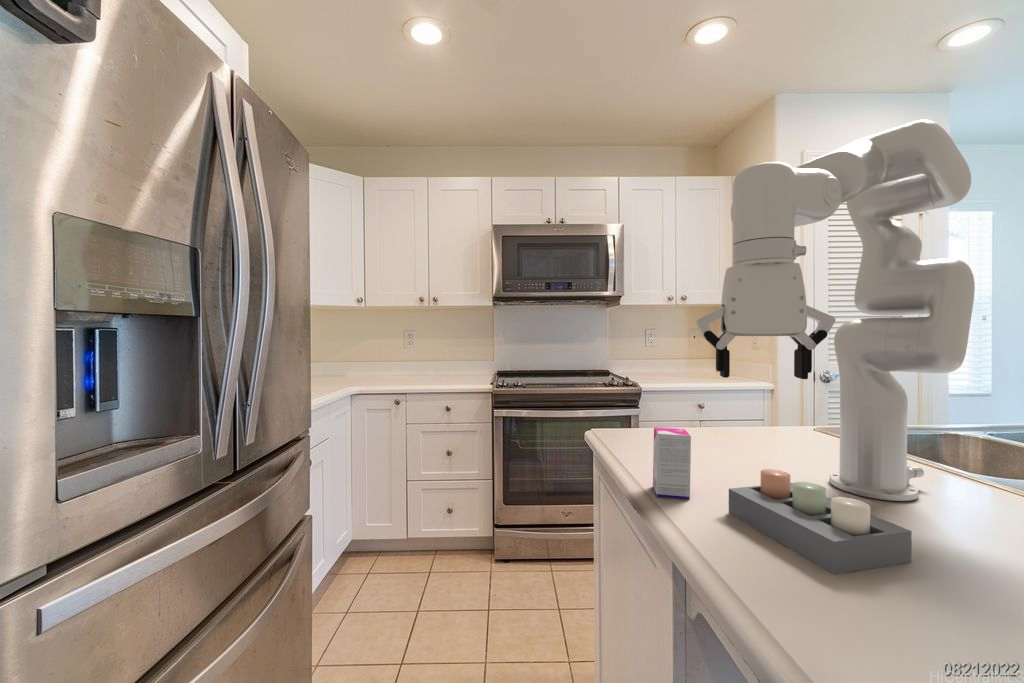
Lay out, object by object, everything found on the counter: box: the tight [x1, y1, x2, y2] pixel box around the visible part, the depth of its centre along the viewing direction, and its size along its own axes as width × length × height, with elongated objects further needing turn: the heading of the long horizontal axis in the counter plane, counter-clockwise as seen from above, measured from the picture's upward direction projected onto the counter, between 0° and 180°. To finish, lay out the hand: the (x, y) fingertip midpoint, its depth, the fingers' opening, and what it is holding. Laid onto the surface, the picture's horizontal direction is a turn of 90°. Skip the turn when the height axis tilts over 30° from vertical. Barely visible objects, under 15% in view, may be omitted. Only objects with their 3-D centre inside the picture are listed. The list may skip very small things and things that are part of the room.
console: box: [728, 482, 913, 575], centre depth 62 cm, size 12×18×4 cm, turn 12°
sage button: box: [792, 481, 827, 516], centre depth 62 cm, size 4×4×4 cm
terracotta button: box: [760, 468, 791, 500], centre depth 67 cm, size 4×4×4 cm
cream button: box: [831, 496, 871, 536], centre depth 56 cm, size 4×4×4 cm
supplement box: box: [652, 427, 692, 500], centre depth 78 cm, size 6×6×12 cm
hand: (761, 377), depth 61 cm, fingers open, 9 cm apart
